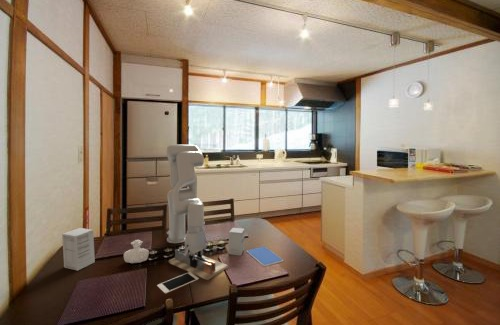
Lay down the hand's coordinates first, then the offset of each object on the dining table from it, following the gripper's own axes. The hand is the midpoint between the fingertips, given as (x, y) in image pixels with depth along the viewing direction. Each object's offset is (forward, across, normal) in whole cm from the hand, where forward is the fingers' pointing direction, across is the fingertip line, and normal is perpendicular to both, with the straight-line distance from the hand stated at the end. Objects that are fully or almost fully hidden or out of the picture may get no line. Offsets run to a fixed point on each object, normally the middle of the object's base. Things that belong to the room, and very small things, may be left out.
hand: (196, 264), depth 122 cm
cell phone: (+3, +13, +2) cm, 13 cm away
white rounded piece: (+2, +12, -30) cm, 33 cm away
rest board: (+2, -3, -2) cm, 4 cm away
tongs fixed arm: (+1, 0, -2) cm, 2 cm away
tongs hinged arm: (+1, -1, 0) cm, 1 cm away
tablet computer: (+3, -31, +20) cm, 37 cm away
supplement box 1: (+2, +31, -48) cm, 57 cm away
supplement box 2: (+2, -26, +5) cm, 26 cm away
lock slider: (0, -7, -8) cm, 11 cm away
